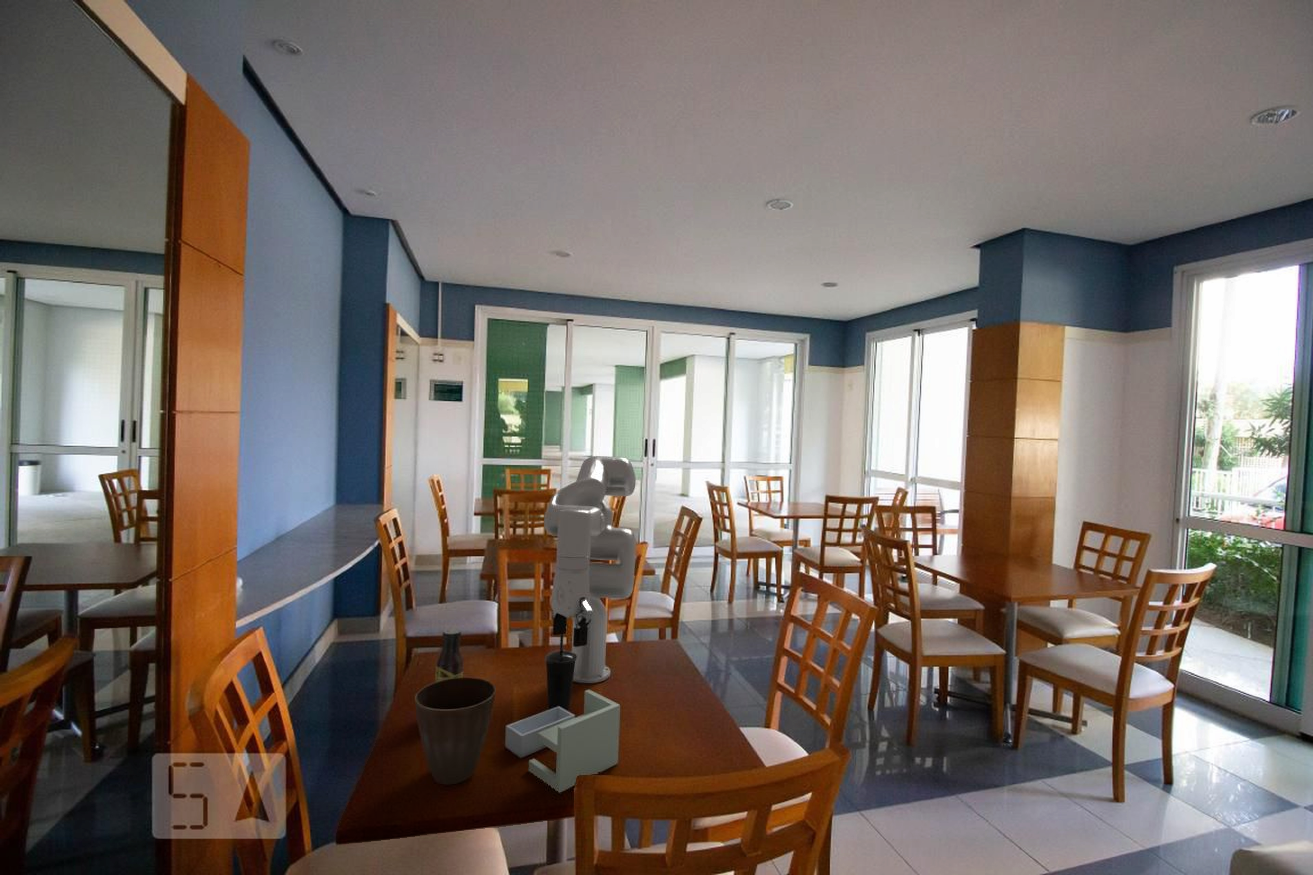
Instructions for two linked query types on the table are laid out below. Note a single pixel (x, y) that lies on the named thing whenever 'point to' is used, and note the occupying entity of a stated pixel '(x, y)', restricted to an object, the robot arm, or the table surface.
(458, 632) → the sauce bottle
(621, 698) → the table surface
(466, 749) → the plant pot
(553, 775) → the shelf slot
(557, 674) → the drinking cup
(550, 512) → the robot arm
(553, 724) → the tray
